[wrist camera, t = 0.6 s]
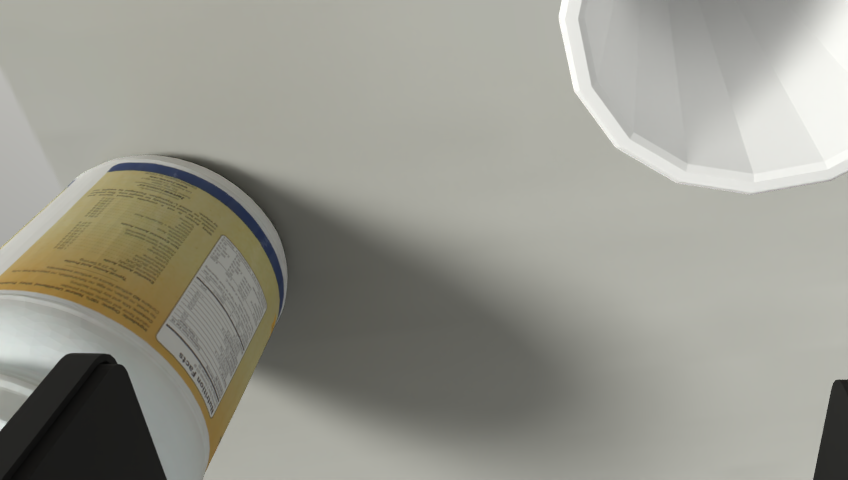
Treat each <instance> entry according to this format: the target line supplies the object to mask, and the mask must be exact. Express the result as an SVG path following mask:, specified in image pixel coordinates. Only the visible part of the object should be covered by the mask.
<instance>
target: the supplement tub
mask: <svg viewBox="0 0 848 480" xmlns="http://www.w3.org/2000/svg"><path fill="white" fill-rule="evenodd" d="M286 291H287V264H286V258H285V254H284V250H283V246H282V243H281V240H280V238H279V235H278V233H277V231H276V229H275V228H274V226H273V225H272V223H271V222H270V220H269V219H268V217H267V216H266V215H265V213H264V212H263V211H262V210H261V208H260V207H259V206H258V205H257V204H256V203H255V202H254V201H253V200H252V199H251V198H250V197H249V196H248V195H247V194H246V193H244V192H243V191H242V190H241V189H240V188H238V187H237V186H236V185H234V184H233V183H231V182H230V181H228V180H227V179H225V178H224V177H222V176H220V175H219V174H217V173H215V172H213V171H211V170H209V169H207V168H205V167H202V166H200V165H197V164H194V163H192V162H188V161H185V160H181V159H178V158H172V157H166V156H158V155H136V156H127V157H121V158H117V159H112V160H110V161H107V162H104V163H102V164H100V165H98V166H96V167H94V168H92V169H89V170H88V171H86V172H84V173H82V174H81V175H79V176H78V177H77V178H75V179H74V180H73V181H72V182H71V183H70V184H69V185H68V186H67V187H66V188H65V189H64V190H63V191H62V192H61V193H60V194H59V195H58V196H57V197H56V198H55V199H54V200H53V201H51V202H50V203H49V204H48V205H47V206H46V207H45V208H44V209H43V210H41V211H40V212H39V213H38V214H37V215H36V216H35V217H34V218H33V219H32V220H31V221H30V222H28V223H27V224H26V225H25V226H24V227H23V228H22V229H21V230H20V231H18V232H17V233H16V234H15V235H14V236H13V237H12V238H11V239H10V240H9V241H8V242H6V243H5V244H4V245H3V246H2V247H1V248H0V431H1V429H2V428H3V427H4V426H5V425H6V423H7V422H8V421H9V420H10V419H11V418H12V416H13V415H14V414H15V413H16V412H17V410H18V409H19V408H20V407H21V406H22V404H23V403H24V402H25V401H26V400H27V398H28V397H29V396H30V395H31V394H32V393H33V391H34V390H35V389H36V388H37V387H38V385H39V384H40V383H41V382H42V381H43V379H44V378H45V377H46V376H47V375H48V373H49V372H50V371H51V370H52V369H53V368H54V366H55V365H56V364H57V363H58V362H59V360H60V359H61V358H63V357H64V356H65V355H66V354H69V353H105V354H110V355H111V356H113V357H114V358H115V360H116V362H117V363H118V364H121V365H123V366H124V367H125V368H126V370H127V372H128V374H129V377H130V380H131V383H132V385H133V388H134V391H135V393H136V396H137V399H138V402H139V404H140V407H141V410H142V413H143V415H144V418H145V421H146V424H147V426H148V429H149V432H150V435H151V437H152V440H153V443H154V445H155V448H156V451H157V454H158V456H159V459H160V462H161V465H162V467H163V470H164V473H165V476H166V478H167V480H203V477H204V474H205V472H206V470H207V468H208V466H209V463H210V461H211V459H212V457H213V455H214V453H215V451H216V449H217V447H218V445H219V443H220V441H221V439H222V437H223V434H224V432H225V430H226V428H227V426H228V424H229V422H230V420H231V418H232V416H233V414H234V412H235V410H236V408H237V406H238V404H239V402H240V399H241V397H242V395H243V393H244V391H245V389H246V387H247V385H248V382H249V380H250V378H251V376H252V374H253V372H254V370H255V368H256V365H257V363H258V361H259V359H260V357H261V355H262V353H263V351H264V348H265V346H266V344H267V342H268V340H269V338H270V336H271V333H272V331H273V329H274V327H275V325H276V324H277V322H278V320H279V318H280V316H281V313H282V311H283V307H284V304H285V299H286Z"/></svg>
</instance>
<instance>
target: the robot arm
mask: <svg viewBox="0 0 848 480" xmlns="http://www.w3.org/2000/svg"><path fill="white" fill-rule="evenodd" d="M0 480H167V478H166V476H165V473H164V470H163V467H162V465H161V462H160V459H159V456H158V454H157V451H156V448H155V445H154V443H153V440H152V437H151V435H150V432H149V429H148V426H147V424H146V421H145V418H144V415H143V413H142V410H141V407H140V404H139V402H138V399H137V396H136V393H135V391H134V388H133V385H132V383H131V380H130V377H129V374H128V372H127V370H126V368H125V367H124V366H123V365H121V364H118V363H117V362H116V360H115V358H114V357H113V356H111V355H110V354H105V353H69V354H66V355H65V356H64V357H63V358H61V359H60V360H59V362H58V363H57V364H56V365H55V366H54V368H53V369H52V370H51V371H50V372H49V373H48V375H47V376H46V377H45V378H44V379H43V381H42V382H41V383H40V384H39V385H38V387H37V388H36V389H35V390H34V391H33V393H32V394H31V395H30V396H29V397H28V398H27V400H26V401H25V402H24V403H23V404H22V406H21V407H20V408H19V409H18V410H17V412H16V413H15V414H14V415H13V416H12V418H11V419H10V420H9V421H8V422H7V423H6V425H5V426H4V427H3V428H2V429H1V431H0ZM813 480H848V380H835V382H834V383H833V386H832V389H831V394H830V399H829V404H828V409H827V414H826V419H825V424H824V429H823V434H822V439H821V444H820V449H819V453H818V458H817V463H816V468H815V473H814V478H813Z"/></svg>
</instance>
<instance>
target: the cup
mask: <svg viewBox="0 0 848 480" xmlns="http://www.w3.org/2000/svg"><path fill="white" fill-rule="evenodd" d="M559 22H560V27H561V32H562V36H563V41H564V46H565V50H566V55H567V60H568V64H569V69H570V74H571V78H572V83H573V88H574V92H575V93H576V94H577V96H578V97H579V98H580V100H581V101H582V102H583V104H584V105H585V107H586V108H587V109H588V111H589V112H590V113H591V115H592V116H593V117H594V119H595V120H596V121H597V123H598V124H599V126H600V127H601V128H602V130H603V131H604V132H605V134H606V135H607V136H608V138H609V139H610V141H611V142H612V143H613V145H614V146H615V147H616V148H617V149H619V150H620V151H622V152H624V153H626V154H627V155H629V156H631V157H633V158H634V159H636V160H638V161H639V162H641V163H643V164H645V165H646V166H648V167H650V168H652V169H653V170H655V171H657V172H658V173H660V174H662V175H664V176H665V177H667V178H669V179H671V180H672V181H674V182H676V183H679V184H685V185H691V186H698V187H704V188H711V189H717V190H724V191H730V192H736V193H743V194H749V195H752V194H758V193H764V192H769V191H775V190H781V189H787V188H792V187H798V186H804V185H809V184H815V183H821V182H827V181H831V180H833V179H835V178H837V177H839V176H841V175H843V174H845V173H847V172H848V0H562V2H561V7H560V13H559Z"/></svg>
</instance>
